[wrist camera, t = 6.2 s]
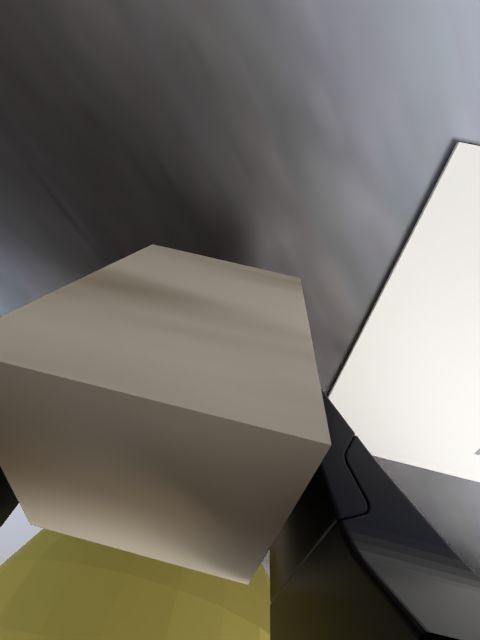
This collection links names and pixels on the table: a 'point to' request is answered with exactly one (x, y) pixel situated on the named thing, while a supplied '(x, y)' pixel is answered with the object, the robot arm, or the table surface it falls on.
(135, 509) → the block
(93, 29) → the table surface
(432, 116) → the table surface
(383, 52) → the table surface
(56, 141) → the table surface
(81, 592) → the vase
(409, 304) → the letter
